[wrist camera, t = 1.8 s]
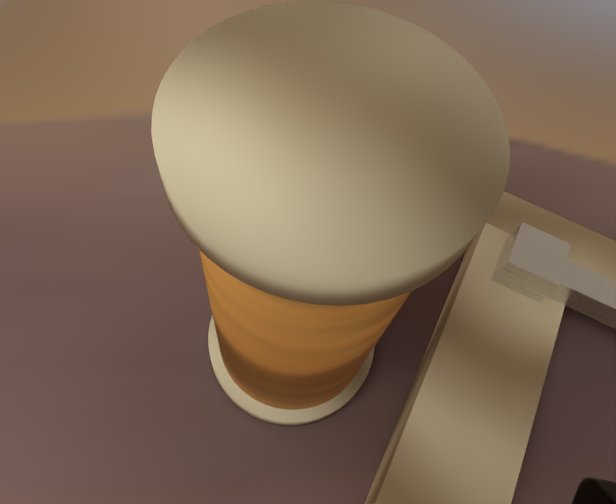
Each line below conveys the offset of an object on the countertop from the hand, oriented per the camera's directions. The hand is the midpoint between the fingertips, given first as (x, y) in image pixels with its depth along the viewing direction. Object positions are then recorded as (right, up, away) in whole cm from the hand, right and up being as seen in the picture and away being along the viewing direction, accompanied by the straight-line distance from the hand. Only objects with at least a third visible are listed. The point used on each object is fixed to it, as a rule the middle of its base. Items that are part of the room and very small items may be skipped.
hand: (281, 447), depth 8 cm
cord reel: (0, -1, +13) cm, 13 cm away
